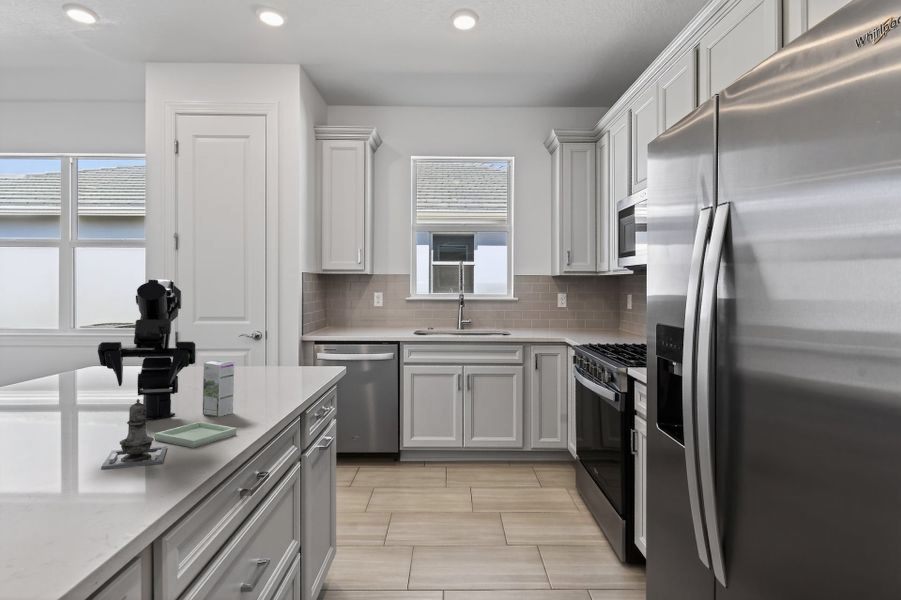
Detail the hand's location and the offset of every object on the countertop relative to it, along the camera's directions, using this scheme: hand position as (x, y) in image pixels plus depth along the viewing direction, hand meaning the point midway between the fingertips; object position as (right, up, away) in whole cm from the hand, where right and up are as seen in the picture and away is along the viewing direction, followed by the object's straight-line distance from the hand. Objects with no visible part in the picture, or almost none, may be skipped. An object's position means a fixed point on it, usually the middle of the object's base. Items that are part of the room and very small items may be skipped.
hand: (144, 384), depth 108 cm
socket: (+3, -14, -8) cm, 16 cm away
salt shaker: (+3, -14, -8) cm, 16 cm away
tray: (+7, -14, +8) cm, 17 cm away
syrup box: (+2, -13, +30) cm, 33 cm away
